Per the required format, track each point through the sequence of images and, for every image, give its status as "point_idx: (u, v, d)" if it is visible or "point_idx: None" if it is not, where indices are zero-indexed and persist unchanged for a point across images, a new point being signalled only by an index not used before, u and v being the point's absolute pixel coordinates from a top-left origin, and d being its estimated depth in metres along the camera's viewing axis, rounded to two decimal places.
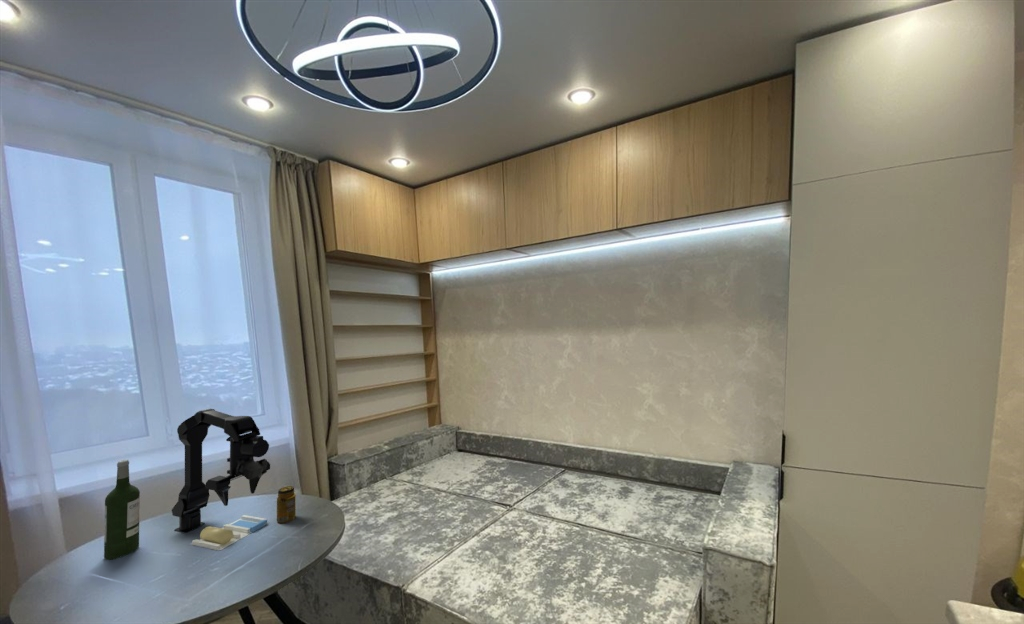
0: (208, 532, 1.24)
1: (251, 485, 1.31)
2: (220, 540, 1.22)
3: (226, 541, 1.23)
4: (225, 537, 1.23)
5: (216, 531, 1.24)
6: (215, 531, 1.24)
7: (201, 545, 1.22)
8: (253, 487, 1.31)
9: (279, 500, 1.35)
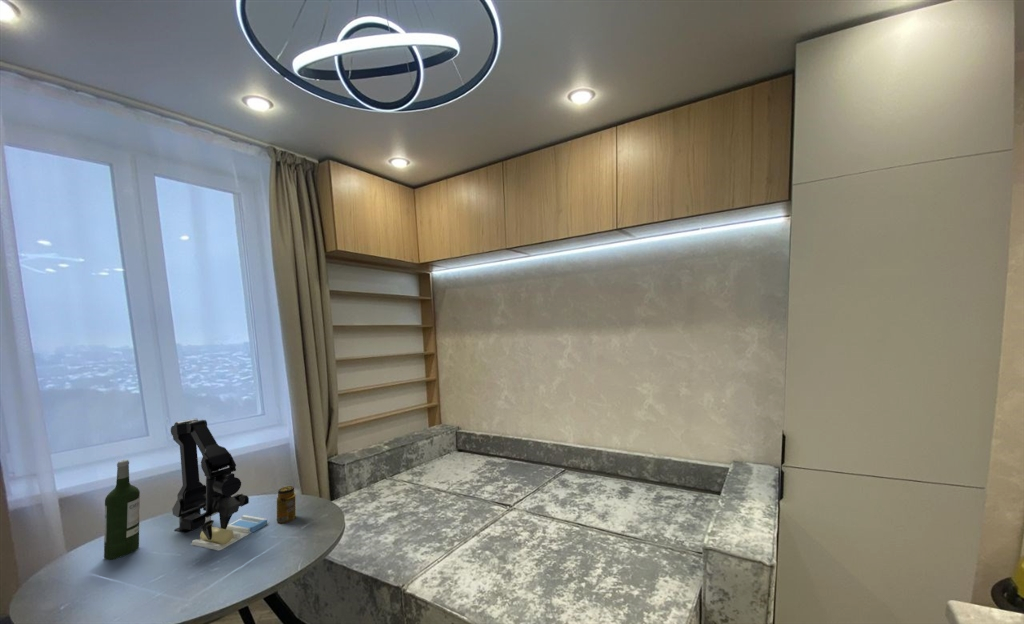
0: None
1: (222, 524, 1.27)
2: (220, 540, 1.22)
3: (226, 541, 1.23)
4: (225, 537, 1.23)
5: (217, 531, 1.24)
6: (215, 531, 1.24)
7: (201, 545, 1.22)
8: (224, 526, 1.27)
9: (279, 500, 1.35)
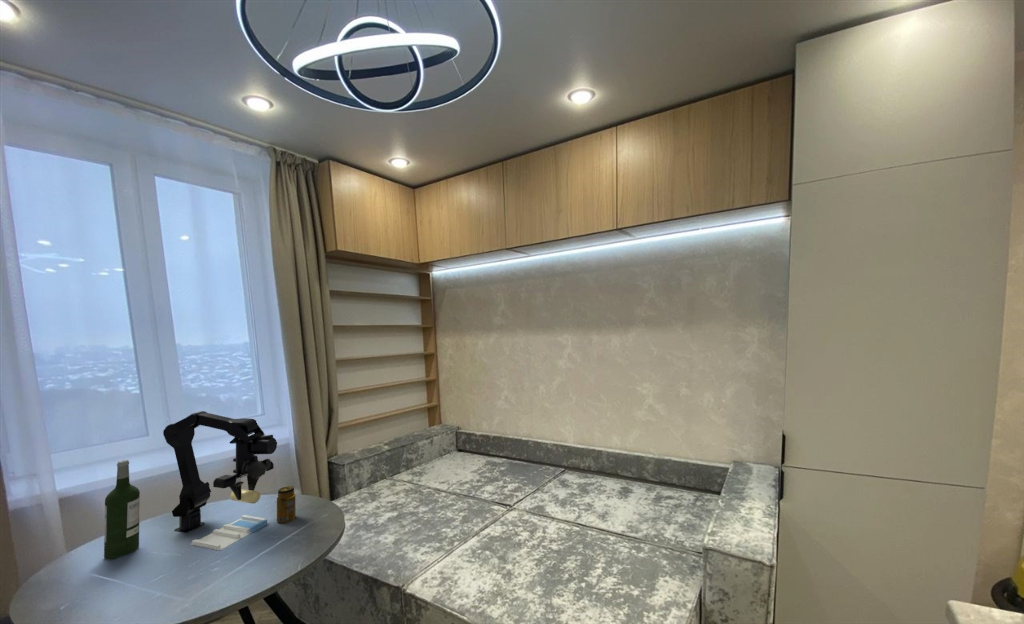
0: None
1: (249, 486, 1.37)
2: (249, 500, 1.31)
3: (254, 501, 1.33)
4: (253, 498, 1.33)
5: (245, 492, 1.34)
6: (244, 492, 1.34)
7: (201, 545, 1.22)
8: (251, 488, 1.37)
9: (279, 500, 1.35)
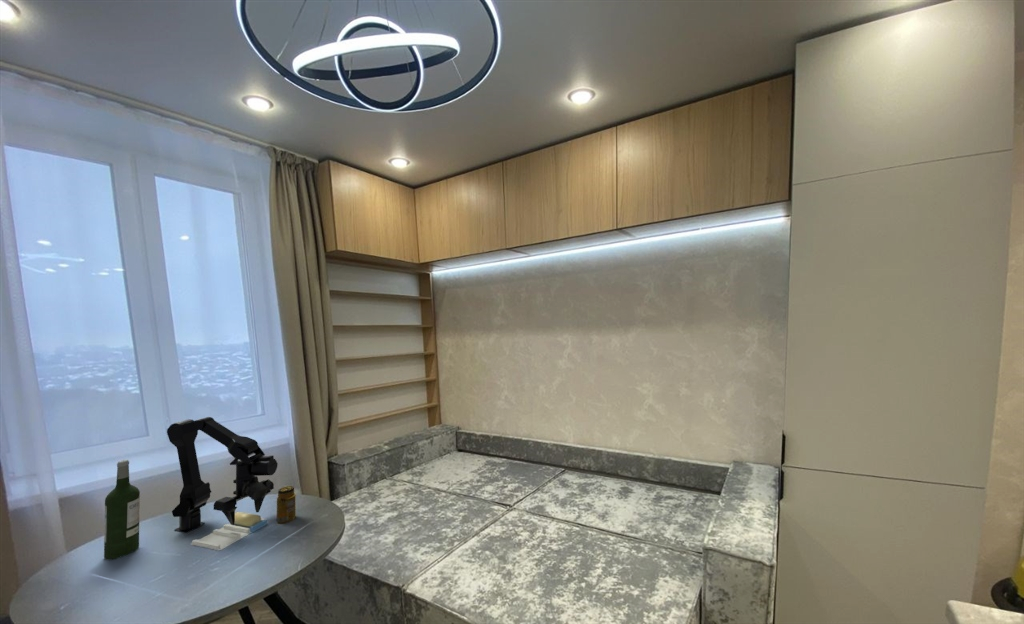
0: (238, 517, 1.34)
1: (256, 504, 1.39)
2: (250, 524, 1.31)
3: None
4: (254, 522, 1.32)
5: (246, 515, 1.33)
6: (244, 515, 1.34)
7: (201, 545, 1.22)
8: (258, 506, 1.39)
9: (279, 500, 1.35)
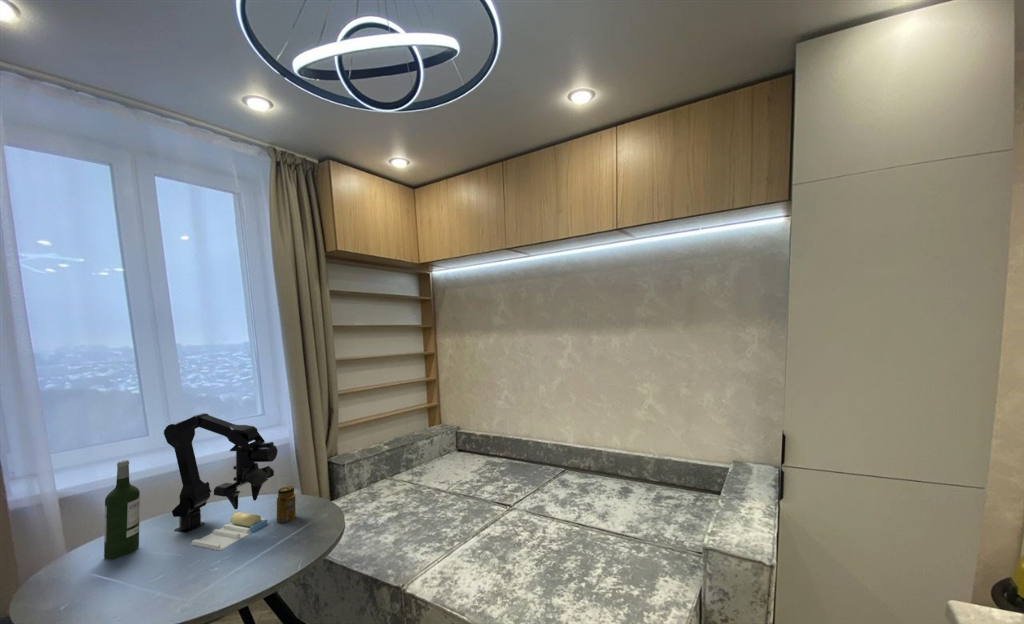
0: (238, 517, 1.34)
1: (253, 492, 1.38)
2: (250, 524, 1.31)
3: None
4: (254, 522, 1.32)
5: (246, 516, 1.33)
6: (244, 516, 1.34)
7: (201, 545, 1.22)
8: (255, 494, 1.38)
9: (279, 500, 1.35)
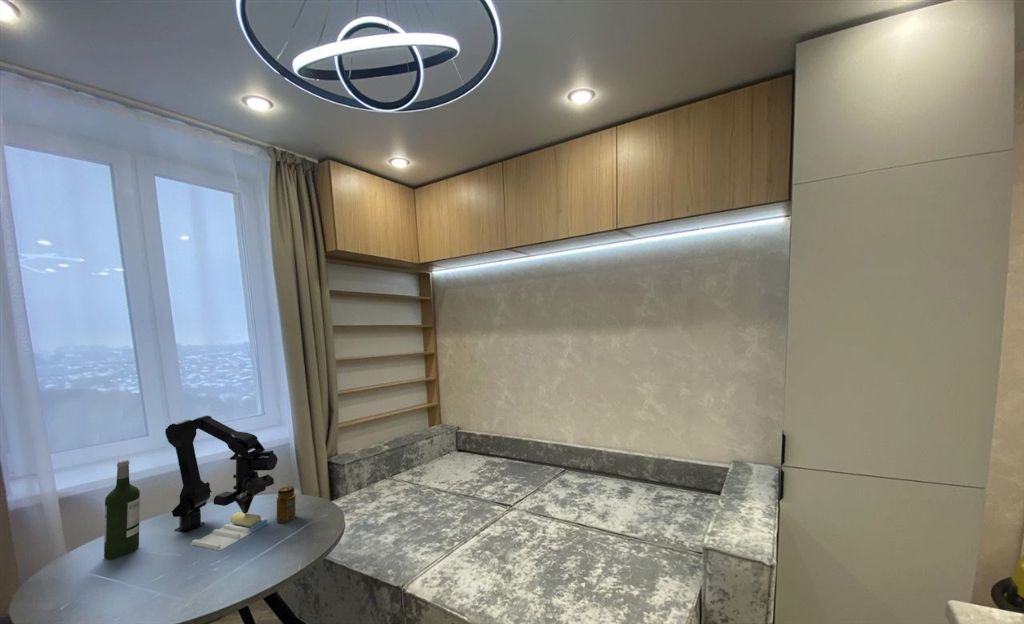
0: (239, 516, 1.34)
1: None
2: (250, 524, 1.31)
3: None
4: (254, 521, 1.32)
5: (246, 515, 1.34)
6: (245, 515, 1.34)
7: (201, 545, 1.22)
8: None
9: (279, 500, 1.35)
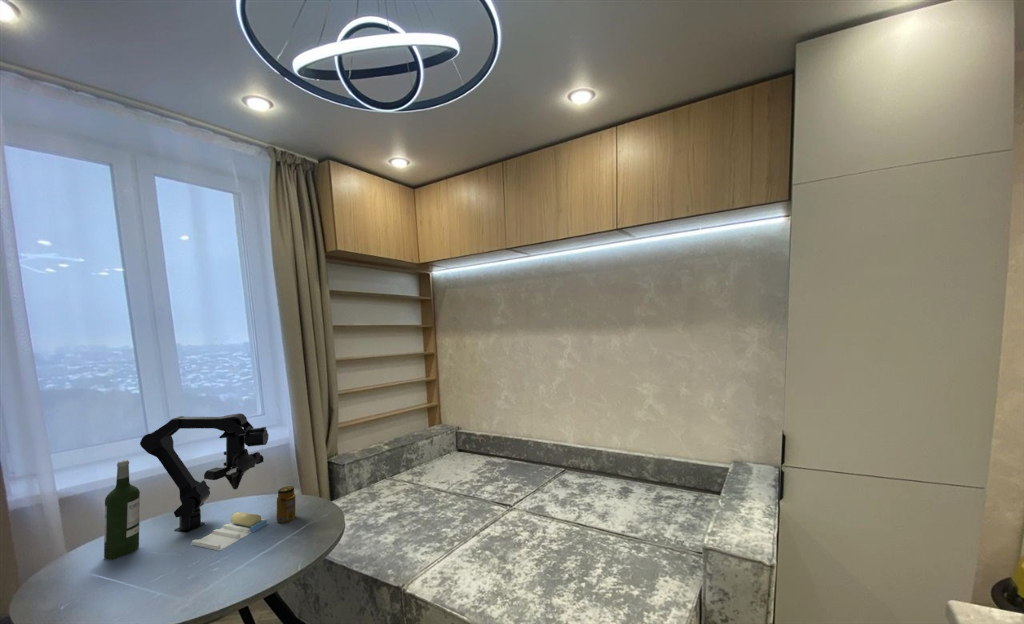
0: (239, 516, 1.34)
1: None
2: (250, 523, 1.31)
3: None
4: (254, 521, 1.32)
5: (246, 515, 1.34)
6: (245, 515, 1.34)
7: (201, 545, 1.22)
8: None
9: (279, 500, 1.35)
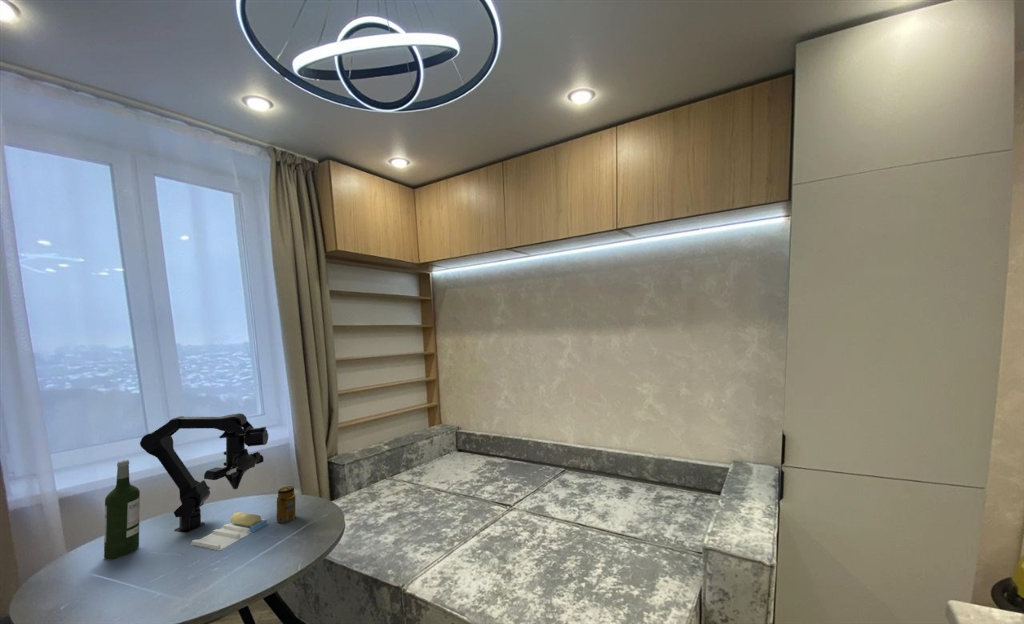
0: (238, 517, 1.34)
1: None
2: (250, 524, 1.31)
3: None
4: (254, 522, 1.32)
5: (246, 516, 1.33)
6: (244, 515, 1.34)
7: (201, 545, 1.22)
8: None
9: (279, 500, 1.35)
